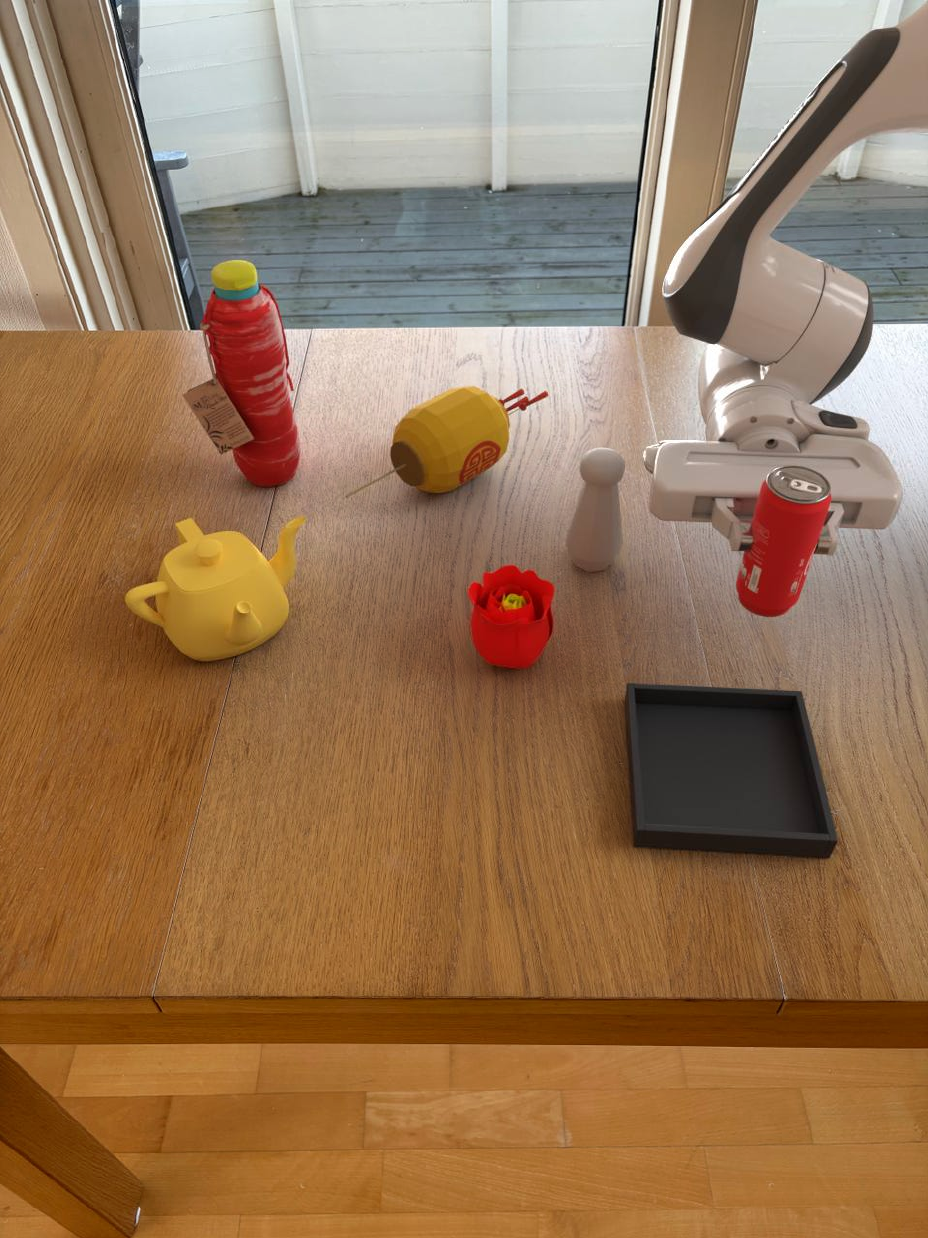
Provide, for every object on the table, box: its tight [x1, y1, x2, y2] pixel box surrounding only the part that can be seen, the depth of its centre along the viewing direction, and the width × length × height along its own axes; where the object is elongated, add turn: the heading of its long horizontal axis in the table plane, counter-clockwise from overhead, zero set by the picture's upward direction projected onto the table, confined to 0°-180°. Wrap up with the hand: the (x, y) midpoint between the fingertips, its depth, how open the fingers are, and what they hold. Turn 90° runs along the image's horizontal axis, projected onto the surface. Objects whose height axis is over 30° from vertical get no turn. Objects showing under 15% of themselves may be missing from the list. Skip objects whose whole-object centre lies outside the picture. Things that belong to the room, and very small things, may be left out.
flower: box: [467, 564, 556, 670], centre depth 87 cm, size 8×8×8 cm
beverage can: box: [735, 465, 831, 618], centre depth 76 cm, size 5×5×12 cm
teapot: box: [124, 515, 307, 662], centre depth 90 cm, size 14×13×10 cm
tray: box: [623, 682, 839, 859], centre depth 79 cm, size 15×15×2 cm
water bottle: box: [181, 259, 302, 488], centre depth 102 cm, size 12×8×25 cm, turn 132°
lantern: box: [345, 385, 549, 499], centre depth 107 cm, size 10×10×30 cm
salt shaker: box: [565, 447, 626, 573], centre depth 95 cm, size 6×6×13 cm
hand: (785, 547), depth 75 cm, fingers closed on beverage can, 5 cm apart
